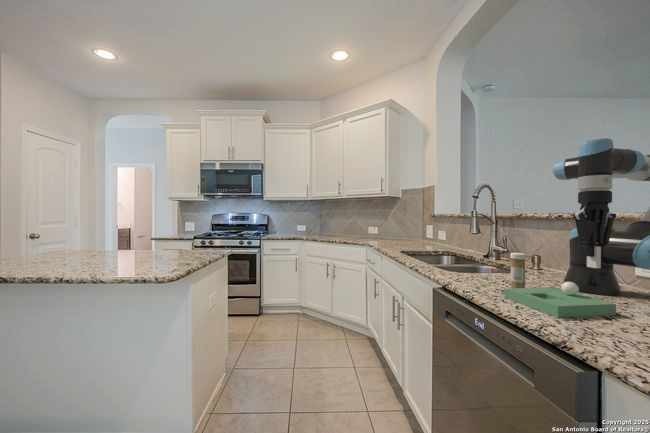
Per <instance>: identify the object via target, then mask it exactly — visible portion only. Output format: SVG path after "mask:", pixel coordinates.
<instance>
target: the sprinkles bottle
mask: <svg viewBox="0 0 650 433" xmlns="http://www.w3.org/2000/svg"><path fill="white" fill-rule="evenodd" d="M526 255H527V254H526V253H522V252H511V253H510V255H509V256H510V257H509V258H510V288H526V259H527V256H526Z"/></svg>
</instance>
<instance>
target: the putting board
mask: <svg viewBox="0 0 650 433" xmlns="http://www.w3.org/2000/svg"><path fill="white" fill-rule="evenodd" d="M504 298H505V299H507V300H510V301H513V302H515V303H518V304H521V305H523V306H526V307H529V308H532V309H534V310H536V311H540V312H542V313H544V314H546V315H550V316H552V317H555V318H557V319H558V318H578V317H599V316H600V317H602V316H604V317H605V316H616V315H617V303H614V302H610V301H606V300H603V299H599V298H595V297H592V296H588V295H585V294H580V293H577V294H576V295H567V294H565V293H564V292H563V291H562V289H561V288H558V287H554V286H548V287H547V286H546V287H525V288H511V287H509V288H504Z"/></svg>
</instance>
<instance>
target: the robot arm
mask: <svg viewBox="0 0 650 433" xmlns="http://www.w3.org/2000/svg"><path fill="white" fill-rule="evenodd" d="M552 173H553V176H554V177H555V178H556V179H557V180H560V181H563V180H564V181H569V180H573V179H578V180H577V190H578V191H579V192H577V203H578V204H580V207H579V211H577V212H572V217H573V219H574V221H575V226H576V228H573V229H571V230H570V233H569V239H568V241H569V266H568V270H567V271H566V274H565V277H564V279H563V283H565V282H573V283H575V284H576V285H577V286H578V288H579V292H580V293H581V292H582V293H585V294H586V293H588V294H594V295H606V296H617V295H620V294H621V293H622V292H621V286H620V284H619V280H618V279H617V276H616V275H615V274H616V273H615V271H614V265H617V266H621V267H622V266H625V267H630V268H637V269H642V270H649V271H650V207H649V208H648V209H647V210H646V212H645V213H644V215H642V216H641V218H640V219H639V220H634V221H633V222H631V223H629V224H628V226H627V227H626V229H624V230H615V228H614V226H613V225H614V221H615V220H616V218H617V213H612V212H610V208H609V204H612V202H613V191H612V190H611V189H613V179H628V180H629V181H634V182H636V181H637V182H650V154H643V153H642V152H641V151H638V150H633V149H631V148H617V147H616V148H615V146H614V141H613V140H612V138H608V137H607V138H606V137H605V138H594V139H589V140H585V141H583V142H581V143H580V144H579V146H578V154H577V157H571V158H564V159H561V160H558V161H556V162H555V163H554V165H553V166H552ZM563 283H562V284H563Z"/></svg>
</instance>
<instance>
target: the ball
mask: <svg viewBox="0 0 650 433" xmlns="http://www.w3.org/2000/svg"><path fill="white" fill-rule="evenodd" d="M560 289H562V291H563V292H564V293H565V294H567V295H576V294H579V292H580V291H579V288H578V286H577V285H576V284H575V283H573V282H565V283H562V284H561V287H560Z"/></svg>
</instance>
